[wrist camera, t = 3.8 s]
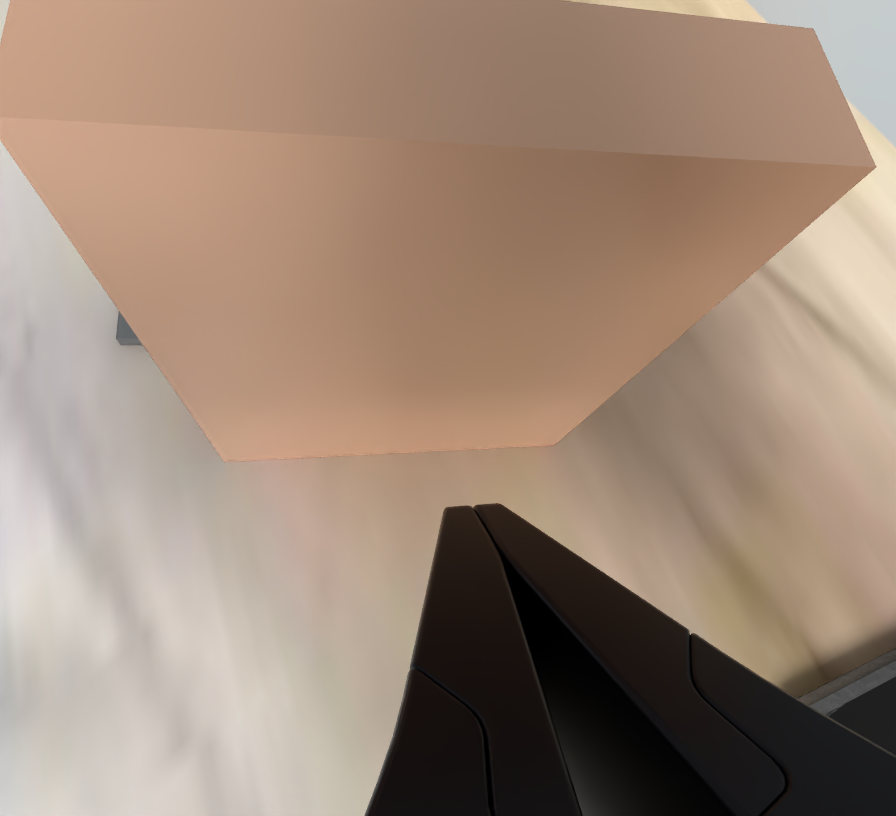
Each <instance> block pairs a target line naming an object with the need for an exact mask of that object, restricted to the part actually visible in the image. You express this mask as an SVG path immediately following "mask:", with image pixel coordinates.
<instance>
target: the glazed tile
mask: <svg viewBox="0 0 896 816" xmlns="http://www.w3.org/2000/svg"><path fill="white" fill-rule="evenodd" d="M0 140H1V142H2V143H3V145H4V146H5V147H6V149H7V150H8V152H9V153H10V155H11V156H12V157H13V159H14V160H15V162H16V163H17V165H18V166H19V168H20V169H21V170H22V172H23V173H24V175H25V176H26V178H27V179H28V180H29V182H30V183H31V185H32V186H33V188H34V189H35V191H36V192H37V193H38V195H39V196H40V198H41V199H42V201H43V202H44V203H45V205H46V206H47V208H48V209H49V211H50V212H51V214H52V215H53V216H54V218H55V219H56V221H57V222H58V224H59V225H60V226H61V228H62V229H63V231H64V232H65V234H66V235H67V237H68V238H69V239H70V241H71V242H72V244H73V245H74V247H75V248H76V249H77V251H78V252H79V254H80V255H81V257H82V258H83V260H84V261H85V262H86V264H87V265H88V267H89V268H90V270H91V271H92V272H93V274H94V275H95V277H96V278H97V280H98V281H99V283H100V284H101V285H102V287H103V288H104V290H105V291H106V293H107V294H108V296H109V297H110V298H111V300H112V301H113V303H114V304H115V306H116V307H117V308H118V310H119V311H120V313H121V314H122V316H123V317H124V319H125V320H126V321H127V323H128V324H129V326H130V327H131V329H132V330H133V331H134V333H135V334H136V336H137V337H138V339H139V340H140V342H141V343H142V344H143V346H144V347H145V349H146V350H147V352H148V353H149V354H150V356H151V357H152V359H153V360H154V362H155V363H156V365H157V366H158V367H159V369H160V370H161V372H162V373H163V375H164V376H165V377H166V379H167V380H168V382H169V383H170V385H171V386H172V388H173V389H174V390H175V392H176V393H177V395H178V396H179V398H180V399H181V400H182V402H183V403H184V405H185V406H186V408H187V409H188V411H189V412H190V413H191V415H192V416H193V418H194V419H195V421H196V422H197V423H198V425H199V426H200V428H201V429H202V431H203V432H204V434H205V435H206V436H207V438H208V439H209V441H210V442H211V444H212V445H213V446H214V448H215V449H216V451H217V452H218V454H219V455H220V457H221V458H222V459H223V461H224V462H234V461H254V460H274V459H293V458H313V457H333V456H352V455H372V454H392V453H411V452H431V451H451V450H470V449H490V448H510V447H529V446H549V445H555V444H556V443H558V442H559V441H560V440H561V439H562V438H563V437H564V436H566V435H567V434H568V433H569V432H570V431H571V430H573V429H574V428H575V427H576V426H577V425H578V424H580V423H581V422H582V421H583V420H584V419H585V418H586V417H588V416H589V415H590V414H591V413H592V412H593V411H595V410H596V409H597V408H598V407H599V406H600V405H602V404H603V403H604V402H605V401H606V400H607V399H608V398H610V397H611V396H612V395H613V394H614V393H615V392H617V391H618V390H619V389H620V388H621V387H622V386H624V385H625V384H626V383H627V382H628V381H629V380H630V379H632V378H633V377H634V376H635V375H636V374H637V373H639V372H640V371H641V370H642V369H643V368H644V367H646V366H647V365H648V364H649V363H650V362H651V361H652V360H654V359H655V358H656V357H657V356H658V355H659V354H661V353H662V352H663V351H664V350H665V349H666V348H668V347H669V346H670V345H671V344H672V343H673V342H674V341H676V340H677V339H678V338H679V337H680V336H681V335H683V334H684V333H685V332H686V331H687V330H688V329H690V328H691V327H692V326H693V325H694V324H695V323H696V322H698V321H699V320H700V319H701V318H702V317H703V316H705V315H706V314H707V313H708V312H709V311H710V310H712V309H713V308H714V307H715V306H716V305H717V304H718V303H720V302H721V301H722V300H723V299H724V298H725V297H727V296H728V295H729V294H730V293H731V292H732V291H733V290H735V289H736V288H737V287H738V286H739V285H740V284H742V283H743V282H744V281H745V280H746V279H747V278H749V277H750V276H751V275H752V274H753V273H754V272H755V271H757V270H758V269H759V268H760V267H761V266H762V265H764V264H765V263H766V262H767V261H768V260H769V259H771V258H772V257H773V256H774V255H775V254H776V253H777V252H779V251H780V250H781V249H782V248H783V247H784V246H786V245H787V244H788V243H789V242H790V241H791V240H793V239H794V238H795V237H796V236H797V235H798V234H799V233H801V232H802V231H803V230H804V229H805V228H806V227H808V226H809V225H810V224H811V223H812V222H813V221H815V220H816V219H817V218H818V217H819V216H820V215H821V214H823V213H824V212H825V211H826V210H827V209H828V208H830V207H831V206H832V205H833V204H834V203H835V202H837V201H838V200H839V199H840V198H841V197H842V196H843V195H845V194H846V193H847V192H848V191H849V190H850V189H852V188H853V187H854V186H855V185H856V184H857V183H859V182H860V181H861V180H862V179H863V178H864V177H865V176H867V175H868V174H869V173H870V172H871V171H872V170H874V169H875V168H876V165H875V163H874V161H873V159H872V157H871V154H870V152H869V150H868V148H867V146H866V143H865V141H864V139H863V137H862V134H861V132H860V130H859V128H858V126H857V123H856V121H855V119H854V117H853V115H852V112H851V110H850V108H849V106H848V104H847V101H846V99H845V97H844V95H843V93H842V90H841V88H840V86H839V84H838V82H837V80H836V77H835V75H834V73H833V71H832V68H831V66H830V64H829V62H828V60H827V57H826V55H825V53H824V51H823V49H822V46H821V44H820V42H819V40H818V38H817V35H816V33H815V31H814V29H812V28H803V27H793V26H784V25H775V24H767V23H758V22H749V21H740V20H731V19H722V18H713V17H704V16H695V15H686V14H677V13H669V12H660V11H651V10H642V9H633V8H624V7H615V6H606V5H597V4H588V3H579V2H570V1H561V0H10V4H9V8H8V13H7V17H6V21H5V26H4V30H3V34H2V39H1V43H0Z"/></svg>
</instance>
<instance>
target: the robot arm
mask: <svg viewBox="0 0 896 816" xmlns="http://www.w3.org/2000/svg"><path fill="white" fill-rule="evenodd" d="M365 816H896V755H894V754H892V753H891V752H889V751H887V750H885V749H884V748H882V747H880V746H878V745H877V744H875V743H873V742H872V741H870V740H868V739H866V738H865V737H863V736H861V735H859V734H858V733H856V732H854V731H852V730H851V729H849V728H847V727H845V726H844V725H842V724H840V723H838V722H837V721H835V720H833V719H831V718H830V717H828V716H826V715H825V714H823V713H821V712H819V711H818V710H816V709H814V708H812V707H811V706H809V705H807V704H806V703H804V702H802V701H801V700H799V699H797V698H796V697H794V696H792V695H791V694H789V693H787V692H786V691H784V690H782V689H781V688H779V687H777V686H776V685H774V684H772V683H770V682H769V681H767V680H765V679H764V678H762V677H761V676H759V675H758V674H756V673H754V672H753V671H751V670H750V669H748V668H747V667H745V666H744V665H742V664H740V663H739V662H737V661H736V660H734V659H733V658H731V657H730V656H728V655H726V654H725V653H723V652H722V651H720V650H719V649H717V648H716V647H714V646H713V645H711V644H710V643H708V642H707V641H705V640H704V639H702V638H701V637H699V636H698V635H696V634H694V633H692V634H691V635H690V632H689V630H688V629H687V628H685V627H684V626H682V625H681V624H680V623H678V622H677V621H675V620H674V619H672V618H671V617H669V616H668V615H666V614H665V613H663V612H662V611H660V610H659V609H657V608H656V607H654V606H653V605H651V604H650V603H648V602H647V601H645V600H644V599H642V598H641V597H639V596H638V595H636V594H635V593H633V592H632V591H630V590H629V589H627V588H626V587H624V586H623V585H621V584H620V583H618V582H617V581H615V580H614V579H612V578H611V577H609V576H608V575H606V574H605V573H603V572H602V571H600V570H599V569H597V568H596V567H594V566H593V565H591V564H590V563H588V562H587V561H585V560H584V559H582V558H581V557H579V556H578V555H576V554H575V553H573V552H572V551H570V550H569V549H567V548H566V547H564V546H563V545H561V544H560V543H559V542H557V541H556V540H554V539H553V538H551V537H550V536H548V535H547V534H545V533H544V532H542V531H541V530H539V529H538V528H536V527H535V526H533V525H532V524H530V523H529V522H527V521H526V520H524V519H523V518H521V517H520V516H518V515H517V514H515V513H514V512H512V511H511V510H509V509H508V508H506V507H505V506H503V505H501V504H497V503H496V504H483V505H475V506H474V507H473V508H472V507H471V506H455V507H446V508H445V509H444V512H443V516H442V521H441V525H440V530H439V534H438V539H437V544H436V548H435V553H434V558H433V562H432V567H431V571H430V576H429V581H428V585H427V590H426V595H425V599H424V604H423V608H422V613H421V618H420V622H419V627H418V632H417V636H416V641H415V645H414V650H413V655H412V659H411V664H410V671H409V672H408V676H407V681H406V685H405V690H404V695H403V699H402V703H401V707H400V711H399V714H398V718H397V722H396V726H395V730H394V734H393V737H392V740H391V743H390V746H389V749H388V752H387V755H386V758H385V761H384V764H383V766H382V769H381V772H380V775H379V778H378V781H377V784H376V787H375V789H374V792H373V795H372V797H371V800H370V802H369V805H368V808H367V810H366V813H365Z"/></svg>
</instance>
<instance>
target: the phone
mask: <svg viewBox="0 0 896 816" xmlns="http://www.w3.org/2000/svg"><path fill="white" fill-rule="evenodd" d="M798 699H799V700H801V701H802V702H804V703H806V704H807V705H809V706H811V707H812V708H814V709H816V710H818V711H819V712H821V713H823V714H825V715H826V716H828V717H830V718H831V719H833V720H835V721H837V722H838V723H840V724H842V725H844V726H845V727H847V728H849V729H851V730H852V731H854V732H856V733H858V734H859V735H861V736H863V737H865V738H866V739H868V740H870V741H872V742H873V743H875V744H877V745H878V746H880V747H882V748H884V749H885V750H887V751H889V752H891V753H892V754H894V755H896V648H895V649H893V650H891V651H889V652H887V653H885V654H883V655H881V656H879V657H877V658H875V659H873V660H871V661H869V662H867V663H866V664H864V665H862V666H860V667H858V668H856V669H854V670H852V671H850V672H848V673H846V674H844V675H842V676H840V677H838V678H836V679H834V680H833V681H831V682H829V683H827V684H825V685H823V686H821V687H819V688H817V689H815V690H813V691H811V692H809V693H807V694H805V695H803V696H801V697H800V698H798Z"/></svg>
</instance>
